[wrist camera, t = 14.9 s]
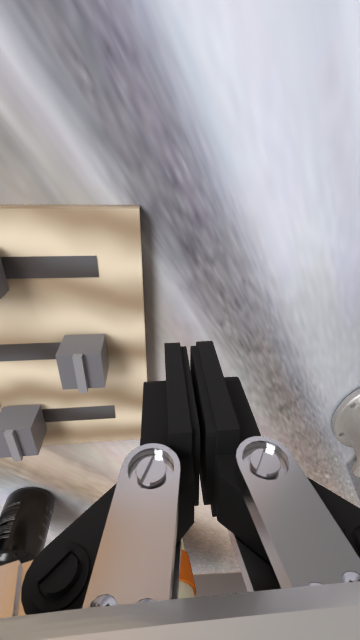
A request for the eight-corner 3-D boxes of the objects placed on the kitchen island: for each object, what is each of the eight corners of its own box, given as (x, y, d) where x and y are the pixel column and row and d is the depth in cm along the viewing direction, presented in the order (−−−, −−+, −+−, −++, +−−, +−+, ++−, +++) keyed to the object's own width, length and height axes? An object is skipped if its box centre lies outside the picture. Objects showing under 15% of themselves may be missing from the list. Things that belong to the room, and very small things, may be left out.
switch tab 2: (108, 366, 33) (104, 391, 30) (70, 368, 33) (61, 394, 29) (104, 332, 31) (99, 356, 28) (64, 334, 31) (53, 357, 27)
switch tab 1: (47, 430, 37) (36, 459, 33) (12, 432, 36) (-2, 462, 33) (40, 403, 35) (28, 432, 31) (2, 406, 34) (-14, 434, 31)
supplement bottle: (11, 513, 47) (-27, 616, 37) (4, 486, 44) (-40, 590, 34) (57, 512, 48) (33, 611, 38) (54, 484, 45) (26, 585, 35)
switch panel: (149, 426, 41) (149, 439, 39) (-8, 436, 39) (-16, 450, 37) (139, 205, 28) (139, 209, 26) (-100, 204, 26) (-120, 208, 24)
